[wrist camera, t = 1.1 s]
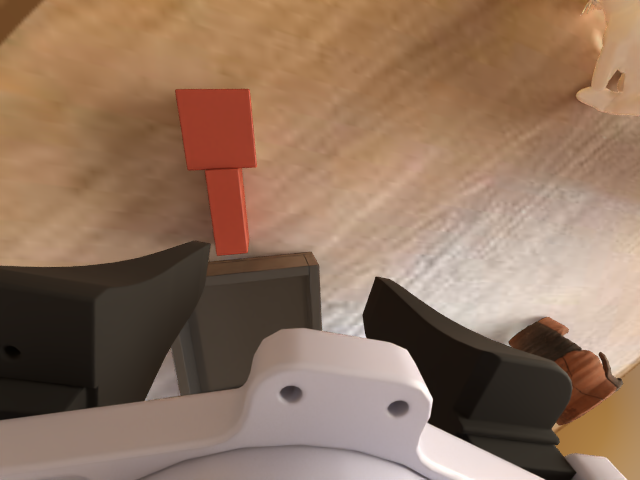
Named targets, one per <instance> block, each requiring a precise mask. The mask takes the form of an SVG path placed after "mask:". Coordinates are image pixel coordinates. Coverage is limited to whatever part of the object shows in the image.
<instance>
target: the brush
mask: <svg viewBox="0 0 640 480" xmlns="http://www.w3.org/2000/svg"><path fill="white" fill-rule="evenodd" d="M175 93H176V100H177V106H178V112H179V119H180V125H181V132H182V138H183V145H184V151H185V158H186V164H187V169H188V170H189V171H190V170H205V176H206V183H207V190H208V198H209V205H210V212H211V219H212V226H213V233H214V240H215V247H216V254H217V256H221V255H231V254H242V253H248V247H249V233H248V223H247V214H246V205H245V195H244V186H243V177H242V168H252V167H257V161H256V150H255V139H254V129H253V118H252V108H251V97H250V90H249V89H176V90H175Z"/></svg>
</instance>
